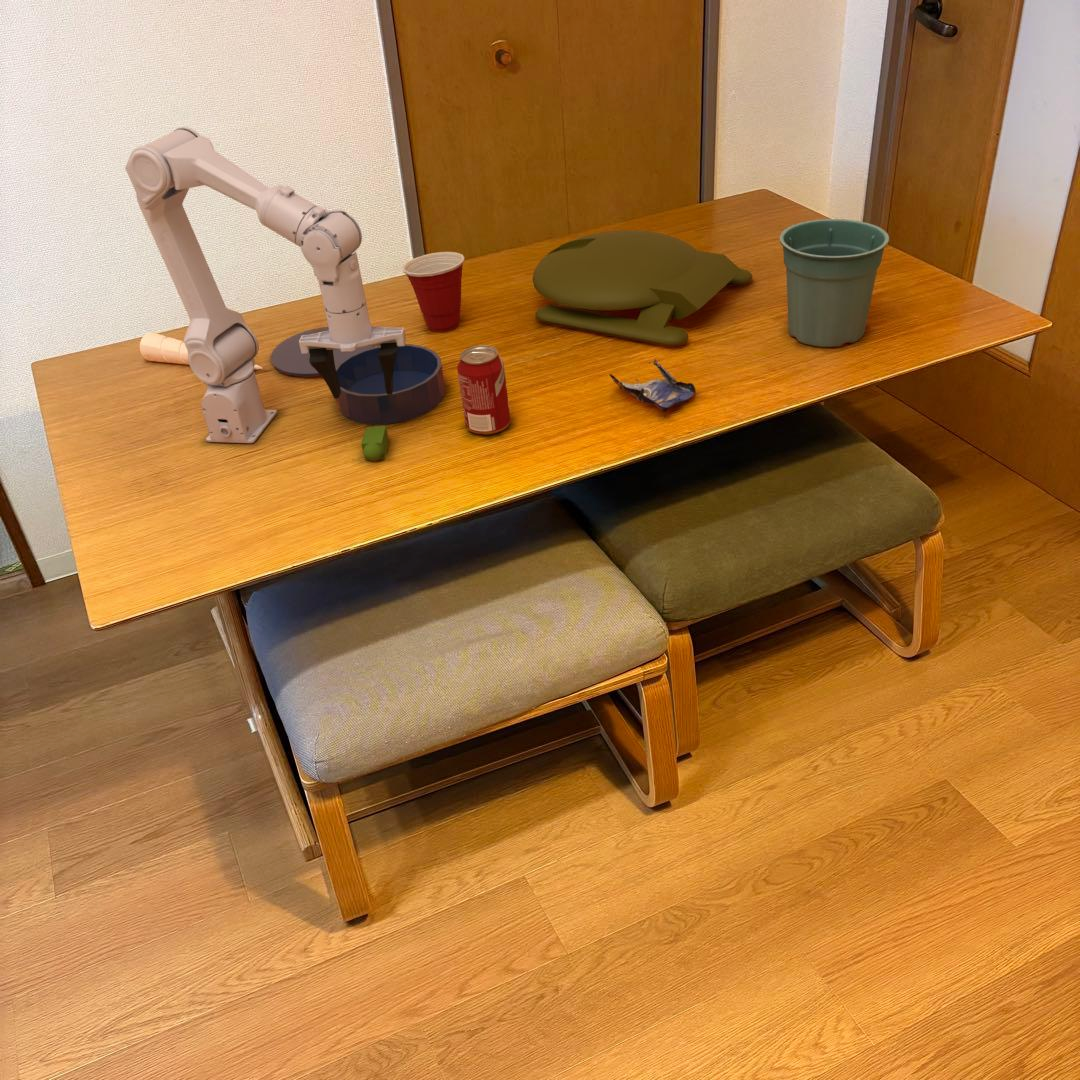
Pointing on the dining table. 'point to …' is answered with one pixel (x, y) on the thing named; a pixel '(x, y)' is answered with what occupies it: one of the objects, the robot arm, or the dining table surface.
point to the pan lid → (302, 355)
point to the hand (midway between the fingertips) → (363, 393)
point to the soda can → (483, 390)
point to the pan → (412, 383)
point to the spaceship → (631, 284)
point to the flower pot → (830, 278)
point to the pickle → (375, 443)
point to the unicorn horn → (165, 349)
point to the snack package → (660, 390)
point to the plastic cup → (437, 288)
